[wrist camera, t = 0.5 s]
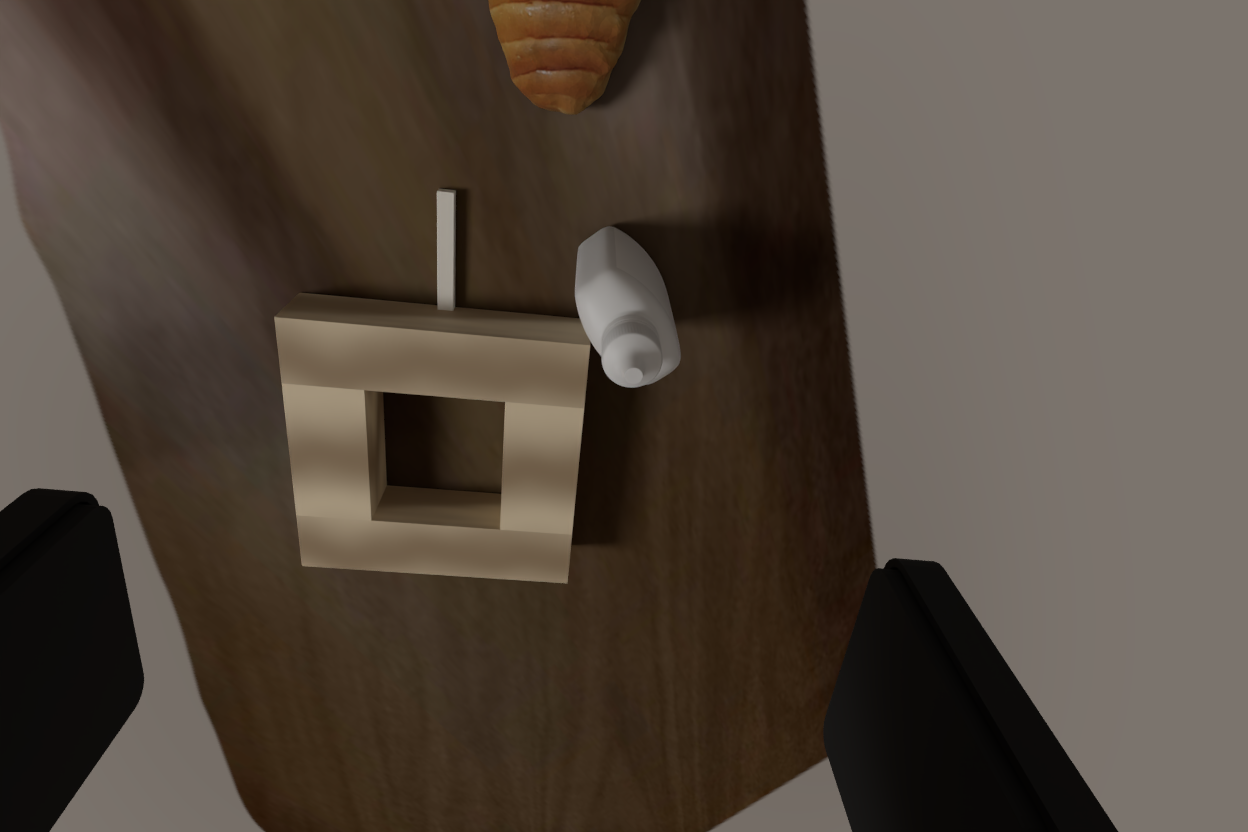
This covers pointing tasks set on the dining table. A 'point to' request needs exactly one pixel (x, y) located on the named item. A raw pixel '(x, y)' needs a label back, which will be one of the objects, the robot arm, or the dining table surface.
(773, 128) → the dining table surface
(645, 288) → the eye dropper bottle
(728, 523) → the dining table surface
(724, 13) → the dining table surface
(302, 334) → the rectangular frame
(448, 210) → the white rectangular bar
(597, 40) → the pastry
